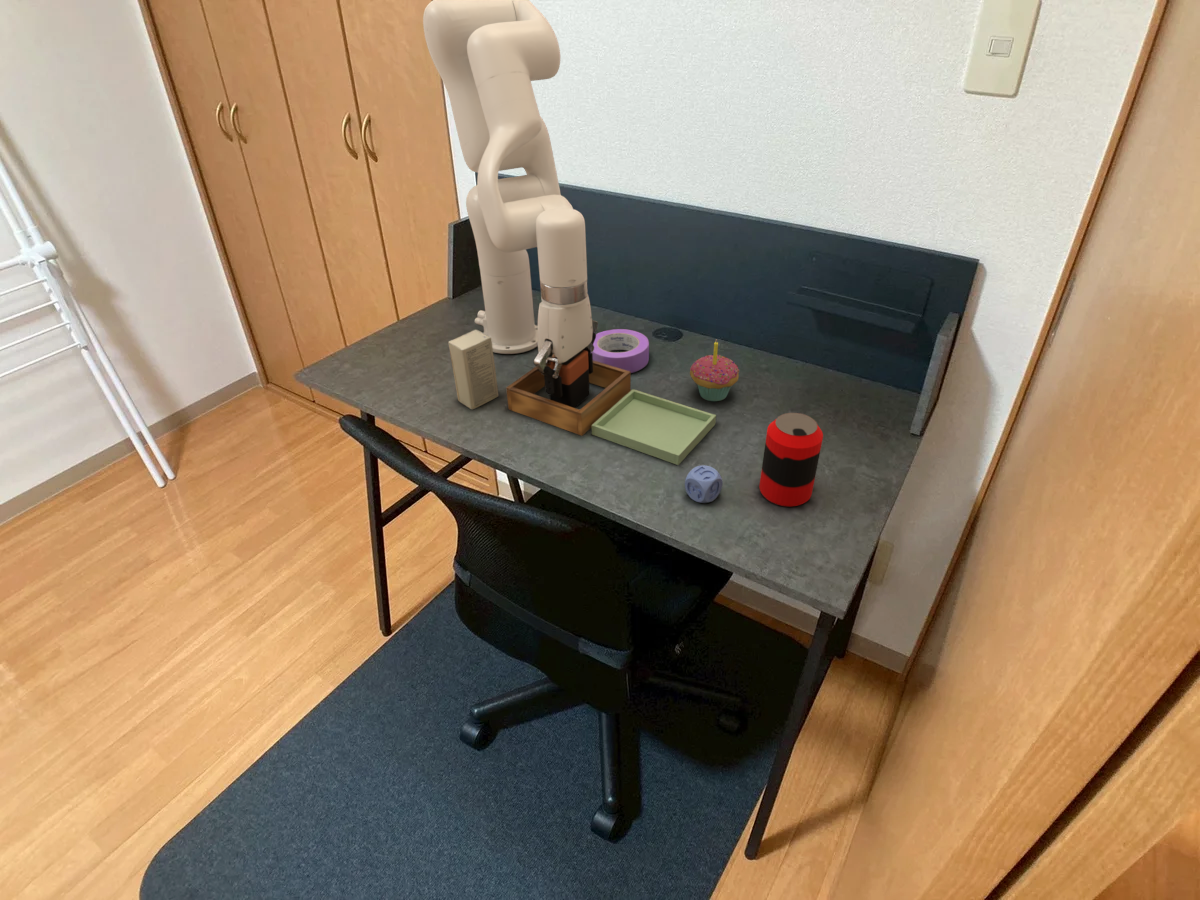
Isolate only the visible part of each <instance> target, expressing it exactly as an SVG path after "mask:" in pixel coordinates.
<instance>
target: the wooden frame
mask: <svg viewBox="0 0 1200 900" xmlns="http://www.w3.org/2000/svg"><path fill="white" fill-rule="evenodd" d="M552 357H555V355H554V354H553V355H552ZM631 374H632V373H631V372H630V371H627V370H624V369H620V368H617V367H614V366H610V365H607V364H604V363H600V362H597V361H594V360H593V372H592V373H591V374H589V384H591V385H595V386H599V387H601V388H604V389H603V390H601V391H600V392H599V393H598V394H597V395H596V396H594V397H593V398H592V399H590V401H589V402H587V403H586V404H584V405H583V406H582V407H581V408H580V409H578V408H577V407H576V408H573V407H570V406H567V405H564V404H561V403H558V402H555V401H552V400H550V398H546V397H544V396H540V395H537V392H539V391H540V390H542V389H543V388H545V380H544V375H542V374H541V373H540V372H539V371H538V369H537V367H536V366H534V367H533V368H531V369H530V370H529V371H527V372H526V373H524V374H523V375H521V376H520V377H519V378H517V379H516V380H515V381H513V382H512V383H510V384H509V385H507V386H506V387H505V390H506V399H507V405H508V406H507V407H508V410H510V411H511V412H515V413H517V414H520V415H523V416H526V417H529V418H531V419H534V420H537V421H540V422H543V423H545V424H548V425H550V426H554V427H557V428H559V429H562V430H565V431H568V432H569V433H573V434H575V435H578V436H581V437H582V436H585V434H586V433H588V431H590V430H591V429H592V424H593V423H595V422H596V421H597V420H598V419H599V418H600V417H601V416H603V415H604V414H605V413H606V412H607V411H608V410H609V409H611V408H612V407H613V406H614V405H615V404H616V403H617V402H619V401H620V400H621V399H622V398H623V397H624V396H625V395H627V394H628V393H629V392H630V391H631V390H632V389H631V386H632V383H631V381H632V379H631V377H632V375H631Z"/></svg>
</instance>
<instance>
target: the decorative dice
mask: <svg viewBox="0 0 1200 900" xmlns="http://www.w3.org/2000/svg"><path fill="white" fill-rule="evenodd" d="M722 488H723V478H722V476H721V474H720V473H719V471H718V469H715V468H714V467H712V466H710V465H707V464H705V465H704V464H701V465H697V466H694V467H693V468H692V469H691V470H690V471H689V472H688V473H687V475H686V477H685V480H684V490H685V492H686V494H687V495H688V497H689V498H690V499H691V500H692V501H695V502H697V503H701V504H708V503H711V502H713V501H714V500H716V499H717V498H718V496H720V493H721V492H722Z"/></svg>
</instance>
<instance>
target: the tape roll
mask: <svg viewBox="0 0 1200 900" xmlns="http://www.w3.org/2000/svg"><path fill="white" fill-rule="evenodd" d="M595 334H596V338H595V341H594V343H593V345H594V351H593V352H591V353H592V355H593V360H594V361H597V362H600V363H604V364H607V365H610V366H614V367H617V368H620V369H624V370H627V371H630V372H631V374H633V373H636V372H638V371H641V370H643V369H644V368H645V367H646V366H647V365H648V363H649V360H650V359H649V358H650V341H649V339H648V337H647V336H646V335H645V334H643V333H641V332H639V331H636V330H632V329H624V328H614V329H608V330H604V331H600V332H598V333H595ZM616 351H617V352H616ZM619 351H620V352H619Z"/></svg>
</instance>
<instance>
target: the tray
mask: <svg viewBox="0 0 1200 900" xmlns="http://www.w3.org/2000/svg"><path fill="white" fill-rule="evenodd" d="M716 420H717V414H714V413H711V412H708V411H704V410H701V409H698V408H696V407H695V408H694V407H691V406H687V405H685V404H681V403H679V402H676V401H672V400H668V399H665V398H663V397H659V396H656V395H653V394H650V393H648V392H643V391H640V390H637V389H634V388H632V389H631V391H630V392H629V393H628V394H627V395H625V396H624V397H623V398H622V399H621V400H620V401H619V402H617V403H616V404H615V405H614V406H613V407H612V408H611V409H609V410H608V411H607V412H606V413H605V414H604V415H603V416H601V417H600V418H599V419H598V420H597V421H596V422H595V423H593V424H592V428H591V435H592V436H595V437H598V438H600V439H603V440H606V441H609V442H612V443H615V444H616V445H620V446H624V447H626V448H628V449H632V450H634V451H637V452H640V453H642V454H646V455H649V456H651V457H653V458H656V459H659V460H663V461H665V462H668V463H671V464H674V465H676V466H679V465H680V464H681V463H682V462H683V461H684V460H685V459H686V458H687V456H689V454H690V453H691V452H692V451H693V450H694V449H695V448H696V447H697V445H698V444H699V443H700V442H701V441H702V440H703V439H704V438H705V437H706V435H707V434H708V433H709V432H710V431H711V430H712V429H713V428H714V427H715V426H716Z"/></svg>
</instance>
